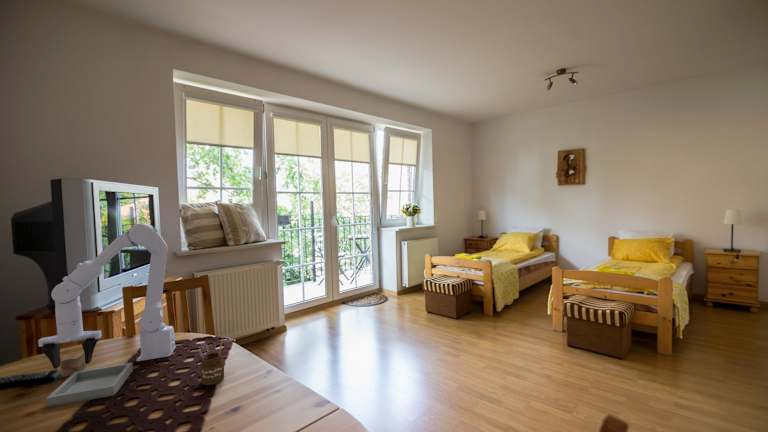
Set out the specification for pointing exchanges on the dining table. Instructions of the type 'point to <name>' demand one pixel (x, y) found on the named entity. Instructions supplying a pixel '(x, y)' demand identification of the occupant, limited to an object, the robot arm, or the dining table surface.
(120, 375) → the tray
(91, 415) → the dining table surface
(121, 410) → the dining table surface
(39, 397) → the dining table surface
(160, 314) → the robot arm
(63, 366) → the walnut block
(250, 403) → the dining table surface
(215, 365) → the utensil holder
